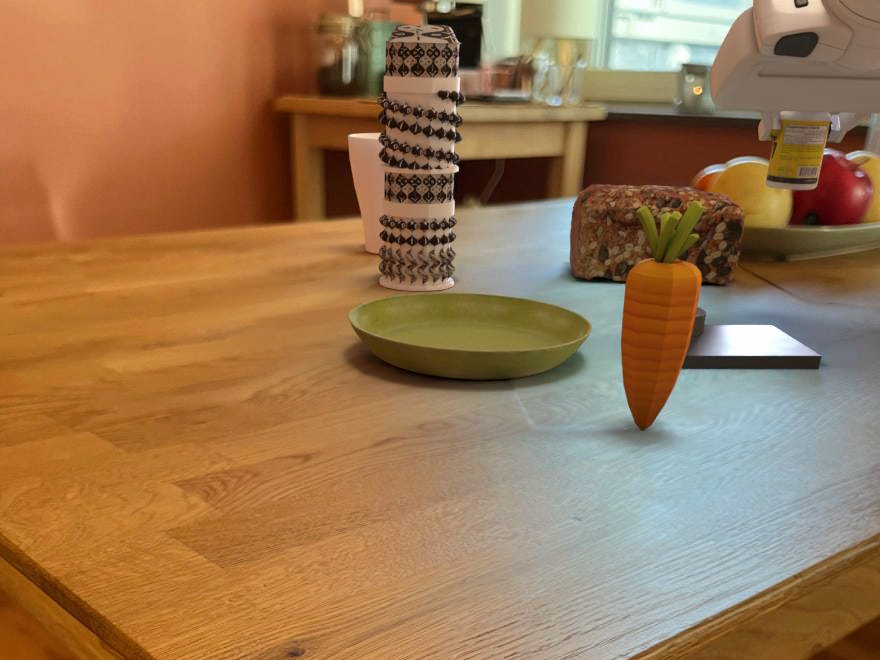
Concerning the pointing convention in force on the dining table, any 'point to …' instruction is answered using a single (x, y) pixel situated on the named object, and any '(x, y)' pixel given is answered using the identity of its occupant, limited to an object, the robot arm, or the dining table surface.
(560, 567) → the dining table surface
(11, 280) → the dining table surface
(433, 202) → the decorative candle
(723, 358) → the scale
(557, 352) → the saucer
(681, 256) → the bread
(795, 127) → the supplement bottle
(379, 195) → the cup
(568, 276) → the dining table surface
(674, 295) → the carrot
